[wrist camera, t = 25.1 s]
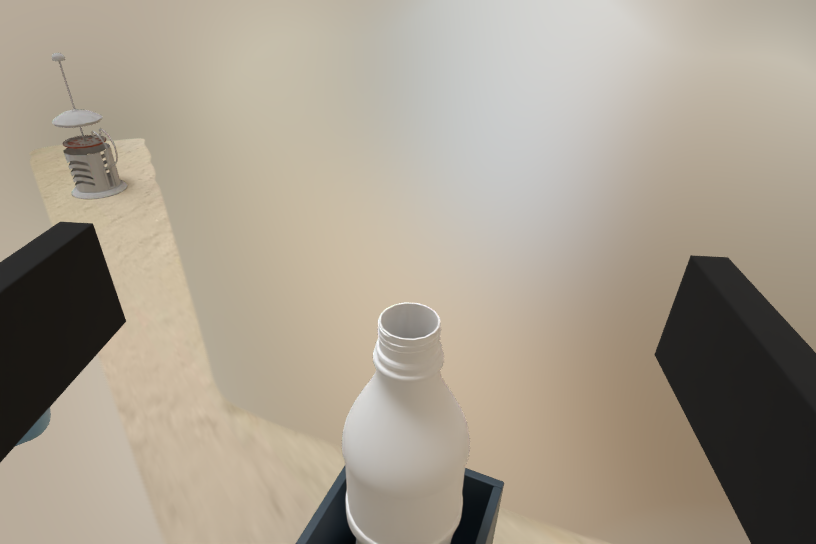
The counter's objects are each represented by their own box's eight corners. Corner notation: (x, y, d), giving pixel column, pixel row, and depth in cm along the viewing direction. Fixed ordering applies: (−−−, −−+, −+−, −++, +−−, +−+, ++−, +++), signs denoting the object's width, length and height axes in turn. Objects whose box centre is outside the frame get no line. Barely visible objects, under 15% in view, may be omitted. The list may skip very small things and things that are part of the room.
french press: (103, 176, 106) (63, 46, 93) (145, 186, 102) (109, 52, 89) (59, 193, 98) (8, 54, 85) (103, 204, 95) (57, 60, 81)
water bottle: (394, 526, 42) (398, 265, 28) (469, 584, 38) (513, 314, 25) (331, 600, 37) (301, 326, 24) (409, 674, 33) (424, 398, 20)
